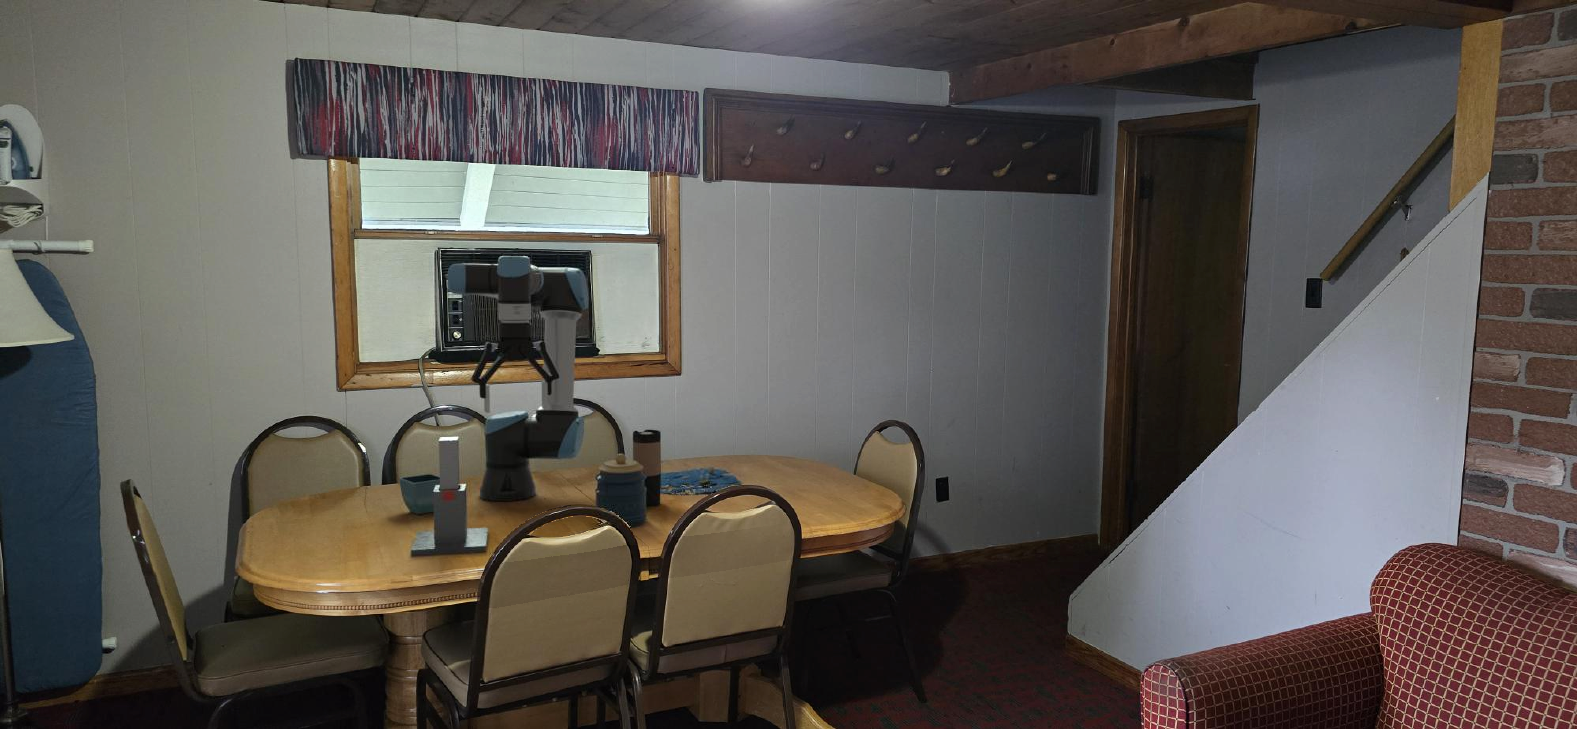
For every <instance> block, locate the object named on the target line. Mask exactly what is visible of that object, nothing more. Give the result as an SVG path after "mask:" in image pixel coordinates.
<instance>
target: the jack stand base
mask: <svg viewBox="0 0 1577 729" xmlns="http://www.w3.org/2000/svg"><path fill="white" fill-rule="evenodd" d="M459 484H460V490H441V491H440V485H436V486H435V488H434V491H433V504H434V512H433V530H418V531H417V533H416V536H415V539H414V542H413V544H412V546H411V549H410V554H411V555H410V557H413V558H414V557H428V556H429V557H430V556H446V555H463V554H480V553H487V547H488V546H487V545H488V538H489V527H469V528H468V511H467V510H468V507H467V506H468V505H467V483H459Z"/></svg>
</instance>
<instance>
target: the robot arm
mask: <svg viewBox="0 0 1577 729" xmlns="http://www.w3.org/2000/svg"><path fill="white" fill-rule="evenodd" d="M446 275H447V278H446V280H447V287H448V290H449V291H450V293H452V294H454V295H463V296H464V295H473V296H474V295H475V296H482V297H483V296H484V297H489V298H495V299H496V300H497V301H498V303H497V306H498V308H497V309H498V317H497V318H498V320H499V321H500V322H499V323H498V341H497V343H494V342H488V341H486V342H485V343H484V351H483V353H482V355H481V357H480V359H479V362H478V364H477V366H476V368H475V369H474V371H473V374H472V375H471V378H470V380H471V381H472V382H473V383H476V384H478V385H479V387H478V388H479V389H478V390H479V397H480V398H481V399H483V402H484V403H483V404H484V407H483V408H484V409H483V410H484V412H485V413H487V414H489V413H490V412H491V409H490V408H491V406H490V405H491V403H490V401H491V400H490V397H491V396H490V384H489V383H488V382H489V381H490V379H491V378H492V377H493V376H494V374H495V373H496V372H497V371H498V370H499V368H500V367H502V365H503V364H504V363H505V362H506V361H509V362H515V361H519V362H523V361H524V360H526V361H527V362H528V363H529V364H530V365H531V366H532V367H533V368H534V369H535V371H536V372H537V373H538V375H540V376H541V377H542V381H541V405H540V406H539V407H538V408H537V409H536V410H535V416H529V415H530V414H529V412H528V411H526V410H522V411H521V410H517V411H508V412H503V413H498V414H494V415H491V416H489V417H488V418H487V419H486V420H485V424H484V429H485V430H484V443H485V444H484V445H485V446H484V447H485V448H484V449H485V450H484V451H485V470H484V474H483V478H482V484H481V485H480V487H479V497H480V498H481V499H483V500H486V501H493V502H496V501H497V502H509V501H510V502H512V500H513V501H519V500H520V501H521V500H525V499H530V498H532V497H534V496H535V495H536V493H537V492H536V491H537V489H536V484H535V482H534V480H533V479H534V478H533V475H532V472H531V470H530V469H531V468H530V463H529V462H530V461H529V460H531V459H532V460H535V459H536V460H538V459H539V460H559V461H562V460H570V459H571V460H572V459H574V458H576V457H577V456H578V455H579V453H580V451H581V448H582V445H583V439H584V436H585V435H584V434H585V420H584V418H583V417H581V416H579V410H578V409H577V408H576V406H575V405H574V392H575V390H574V388H575V368H576V366H575V364H576V363H575V360H576V338H577V337H576V333H577V332H576V330H577V322H578V320H579V319H580V318H581V317H583V310H587V309H588V307H589V300H590V299H589V289H588V284H587V279H586V275H585V274H584V272H583V271H582V270H581V268H576V267H567V266H565V267H563V266H562V267H560V266H559V267H549V266H548V267H537V266H536V265H534V264H531V258H530V257H528V256H525V255H523V256H521V255H519V256H518V255H513V256H511V255H502V256H499V258H498V260H497V263H491V264H489V263H465V262H462V263H453V264H451V265H450V266H449V268H448V271H447V274H446ZM532 309H539V315H540V316H541V317H542V318H543V319H544V341H543V340H539V341H535V342H533V340H532V338H533V336H532V323H531V322H530V320H532ZM534 348H535V350H536V351H538V352H539V354H540V356H541V358H542V361H543V363H542V365H543V367H542V366H541V364H539V362H538V361H537V360H536V359H535V357H534V356H533V355H532V354H531V352H532V351H533V349H534ZM496 349H497V351H499V353H500V354H499V355H498V356H497V358H496V359H495V360H494V362H492V364H490V366H489V368H488V369H486V371H485V373H484V374H483V372H484V369H485V368H486V366H487V363H488V361H489V359H490V357H491V355H492V353H494V352H495V350H496ZM482 374H483V375H482Z"/></svg>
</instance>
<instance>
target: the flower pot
mask: <svg viewBox="0 0 1577 729" xmlns="http://www.w3.org/2000/svg"><path fill="white" fill-rule="evenodd" d="M398 479H399V485H400V492H401V496H402V500H403V503H404V504H405V506H406V507H407V509H408V510H409V512H412V513H414V514H416V515H421V514H422V515H423V514H428V513H434V504H433V491H434V488H435V486H436V485H440V475H436V474H433V473H426V474H418V475H412V476H406V477H405V476H404V477H400V478H398Z"/></svg>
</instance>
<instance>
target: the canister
mask: <svg viewBox="0 0 1577 729" xmlns="http://www.w3.org/2000/svg"><path fill="white" fill-rule="evenodd" d="M597 469H598V470H599V473H597V474H596V475H595V476H594V479H595V481H596V488H595V489H594V490H595V507H596V506H597V507H599V508H604V509H606V510H608V511H612V512H614V513H615V514H616V515H619V517H620V518H621V519H623V520H624V521H625V522H627V524H628V525H629V526H631V527H630V528H633V527H638V526H641V525H643V524H646V522H647V517H648V511H647V507H646V490H647V488H646V487H645V479H646V478H647V475H646V474H645V473H643V472H642V469H643V466H642V465H641V464H639V463H638V462H637V461H634V460H633V459H627V457H626V454H624V453H618V454H617V455H616V456H615V459H611V460H606V461H605V462H604V463H602V464H601V465H599V466H598V467H597ZM596 520H597V521H598V522H600V523H598V524H601V523H603V522H602V521H601V520H599V519H596V518H595V521H596ZM598 524H597V525H598Z"/></svg>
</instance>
